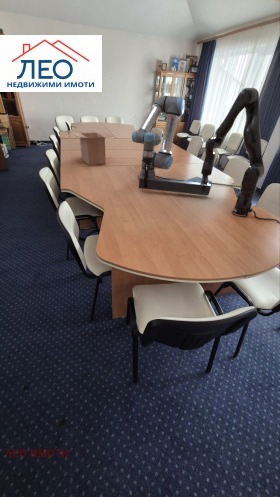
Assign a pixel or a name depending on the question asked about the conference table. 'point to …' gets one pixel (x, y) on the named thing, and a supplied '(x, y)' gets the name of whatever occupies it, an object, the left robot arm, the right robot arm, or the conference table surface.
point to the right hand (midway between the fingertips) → (202, 189)
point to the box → (92, 146)
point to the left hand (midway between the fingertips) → (145, 187)
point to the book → (198, 180)
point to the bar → (174, 186)
